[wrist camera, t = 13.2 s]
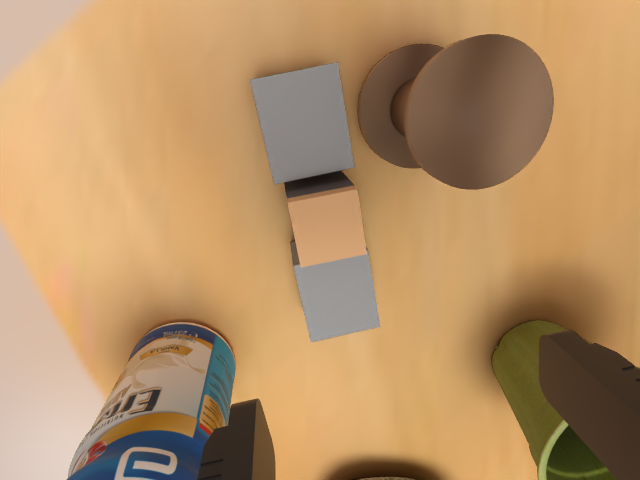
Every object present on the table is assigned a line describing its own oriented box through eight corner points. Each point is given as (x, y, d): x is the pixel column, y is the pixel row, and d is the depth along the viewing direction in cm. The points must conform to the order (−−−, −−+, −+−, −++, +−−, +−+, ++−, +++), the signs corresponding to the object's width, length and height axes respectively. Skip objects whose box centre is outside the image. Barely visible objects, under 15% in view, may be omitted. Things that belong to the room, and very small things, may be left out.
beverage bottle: (195, 420, 36) (111, 782, 17) (109, 369, 33) (-102, 731, 14) (259, 355, 34) (244, 674, 16) (173, 297, 32) (32, 595, 13)
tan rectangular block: (338, 167, 30) (357, 189, 23) (346, 219, 31) (366, 254, 25) (283, 178, 30) (287, 202, 23) (294, 230, 31) (300, 267, 24)
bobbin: (465, 34, 28) (565, 5, 18) (472, 153, 30) (561, 181, 21) (349, 58, 27) (389, 40, 18) (366, 176, 30) (409, 214, 21)
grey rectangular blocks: (327, 66, 27) (337, 62, 23) (366, 297, 33) (380, 326, 29) (253, 81, 27) (249, 80, 23) (306, 310, 33) (311, 342, 29)
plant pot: (537, 268, 34) (654, 346, 24) (613, 342, 38) (745, 438, 27) (437, 365, 37) (504, 476, 26) (518, 426, 40) (606, 545, 30)
